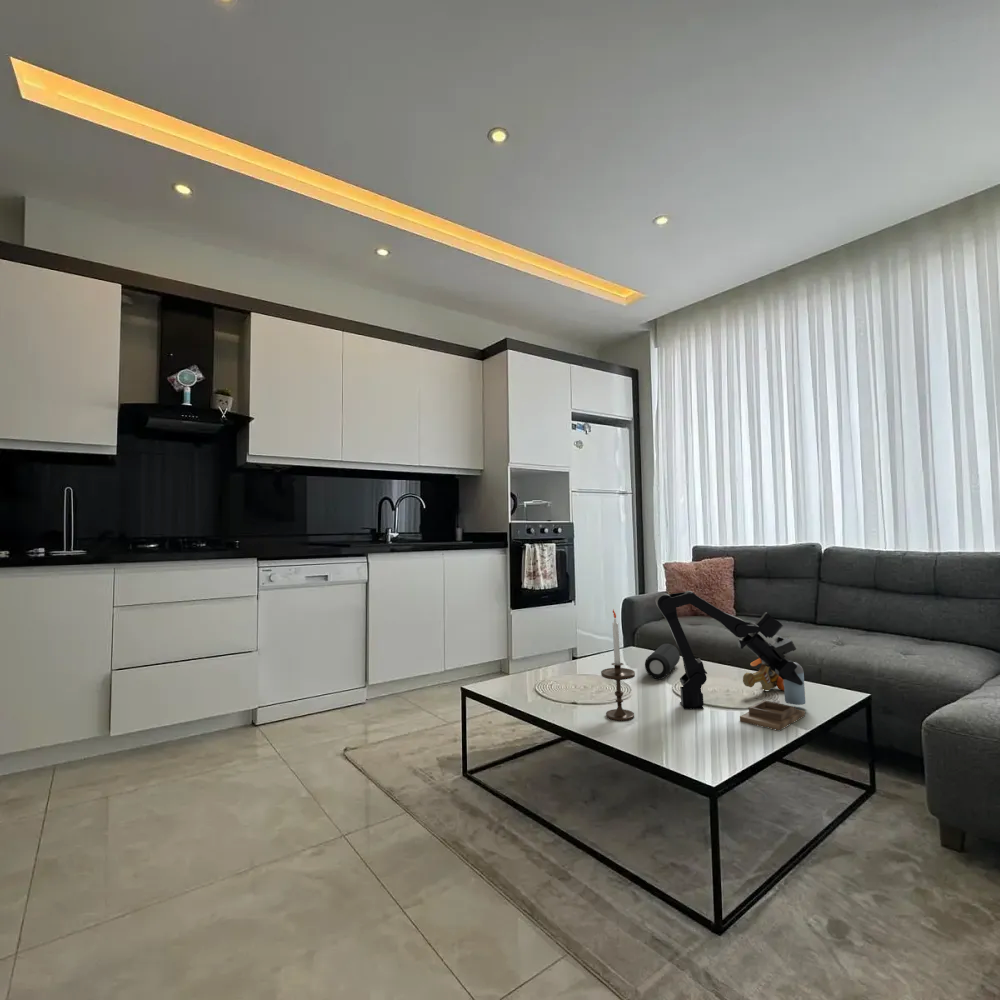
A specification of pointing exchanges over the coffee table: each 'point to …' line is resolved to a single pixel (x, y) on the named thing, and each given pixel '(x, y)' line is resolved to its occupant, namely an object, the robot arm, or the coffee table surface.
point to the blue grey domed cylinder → (795, 689)
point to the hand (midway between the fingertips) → (798, 681)
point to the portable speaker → (662, 661)
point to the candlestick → (618, 679)
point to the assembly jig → (771, 715)
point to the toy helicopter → (763, 677)
